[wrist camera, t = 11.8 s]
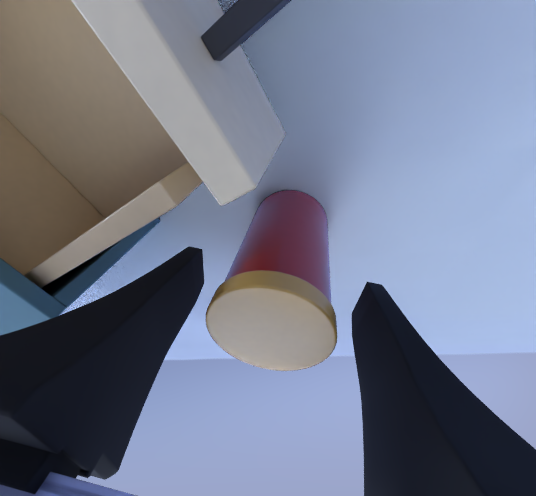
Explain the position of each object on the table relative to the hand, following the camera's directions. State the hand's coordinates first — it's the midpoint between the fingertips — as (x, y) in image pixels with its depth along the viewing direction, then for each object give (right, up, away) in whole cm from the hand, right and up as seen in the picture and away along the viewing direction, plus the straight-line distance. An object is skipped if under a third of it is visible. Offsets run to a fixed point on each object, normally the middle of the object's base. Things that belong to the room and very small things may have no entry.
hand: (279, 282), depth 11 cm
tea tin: (+1, +3, +4) cm, 5 cm away
